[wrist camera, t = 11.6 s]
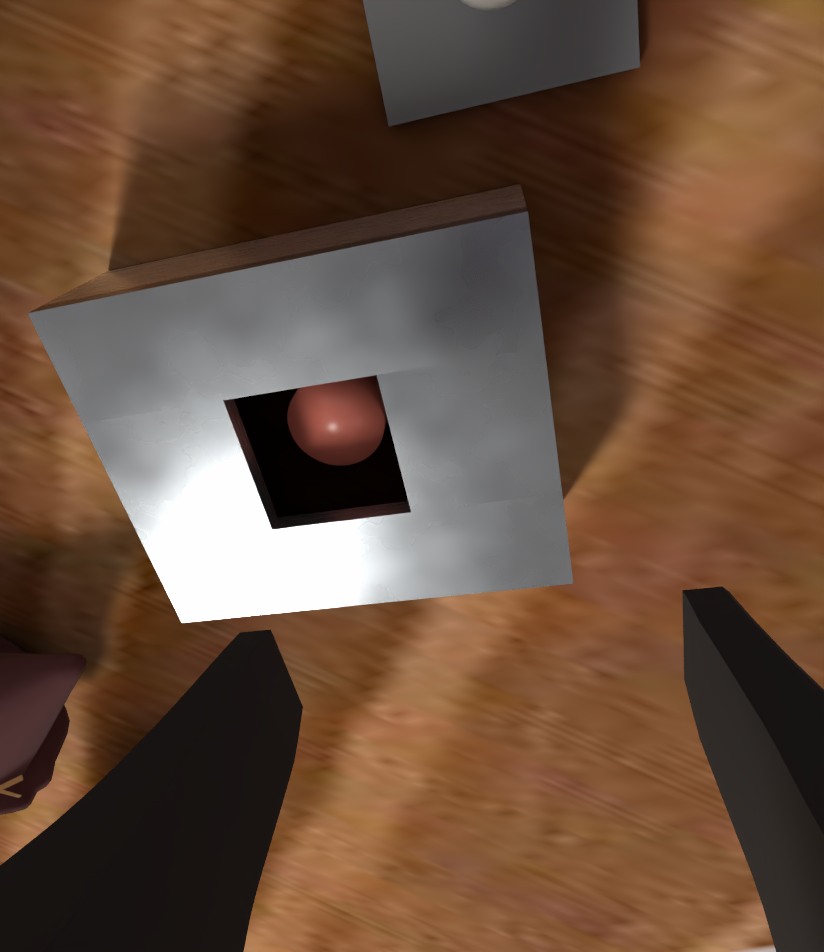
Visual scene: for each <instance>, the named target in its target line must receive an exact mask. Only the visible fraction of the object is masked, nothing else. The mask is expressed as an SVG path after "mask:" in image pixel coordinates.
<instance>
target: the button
mask: <svg viewBox="0 0 824 952" xmlns="http://www.w3.org/2000/svg"><path fill="white" fill-rule="evenodd" d="M287 420H288V426H289V430H290V432H291V435H292V437H293V439H294V440H295V442H296V443H297V445H298V446H299V447H300V448H301V449H302V450H303V451H304V452H305V453H306V454H308V455H309V456H311V457H312V458H314V459H316V460H318V461H320V462H323V463H326V464H331V465H341V466H342V465H351V464H355V463H358V462H360V461H362V460H364V459H366V458H367V457H369V456H370V455H371V454H372V453H373V452H374V451H375V450H376V449H377V447H378V446H379V444H380V442H381V440H382V437H383V434H384V430H385V427H386V423H387V420H388V419H387V415H386V411H385V407H384V403H383V399H382V395H381V391H380V387H379V383H378V379H377V375H374V376H368V377H362V378H356V379H350V380H344V381H338V382H332V383H326V384H319V385H313V386H307V387H301V388H298V389H297V391H296V393H295V394H294V396H293V398H292V400H291V402H290V404H289V407H288V414H287Z"/></svg>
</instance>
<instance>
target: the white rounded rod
mask: <svg viewBox="0 0 824 952" xmlns="http://www.w3.org/2000/svg"><path fill="white" fill-rule="evenodd" d="M460 1H461V2H463V3H464V4H466V5H468V6H469V7H472V8H475V9H478V10H483V11H492V10H499V9H502V8H505V7H507V6H509V5H511V4H513V3H515V2H516V1H518V0H460Z"/></svg>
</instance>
